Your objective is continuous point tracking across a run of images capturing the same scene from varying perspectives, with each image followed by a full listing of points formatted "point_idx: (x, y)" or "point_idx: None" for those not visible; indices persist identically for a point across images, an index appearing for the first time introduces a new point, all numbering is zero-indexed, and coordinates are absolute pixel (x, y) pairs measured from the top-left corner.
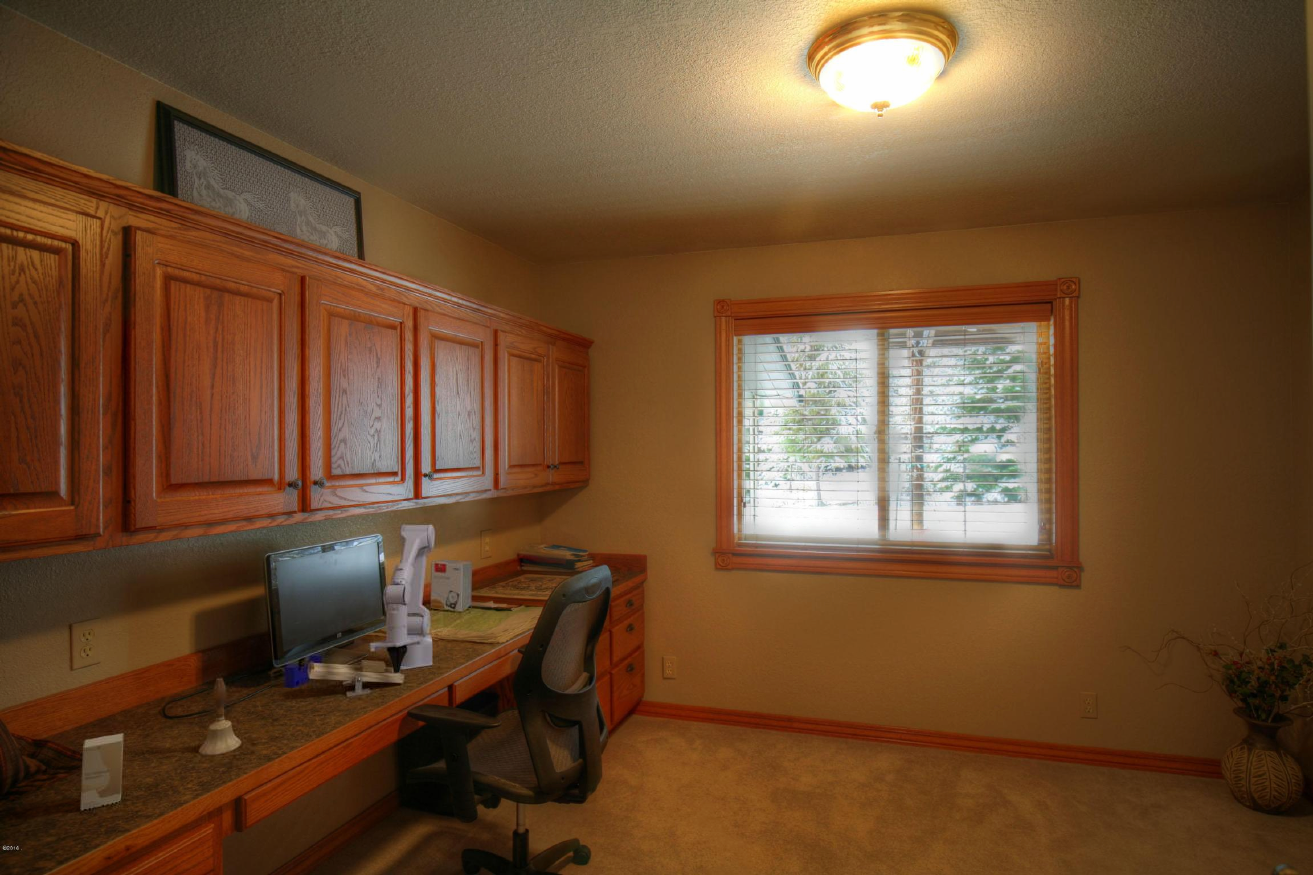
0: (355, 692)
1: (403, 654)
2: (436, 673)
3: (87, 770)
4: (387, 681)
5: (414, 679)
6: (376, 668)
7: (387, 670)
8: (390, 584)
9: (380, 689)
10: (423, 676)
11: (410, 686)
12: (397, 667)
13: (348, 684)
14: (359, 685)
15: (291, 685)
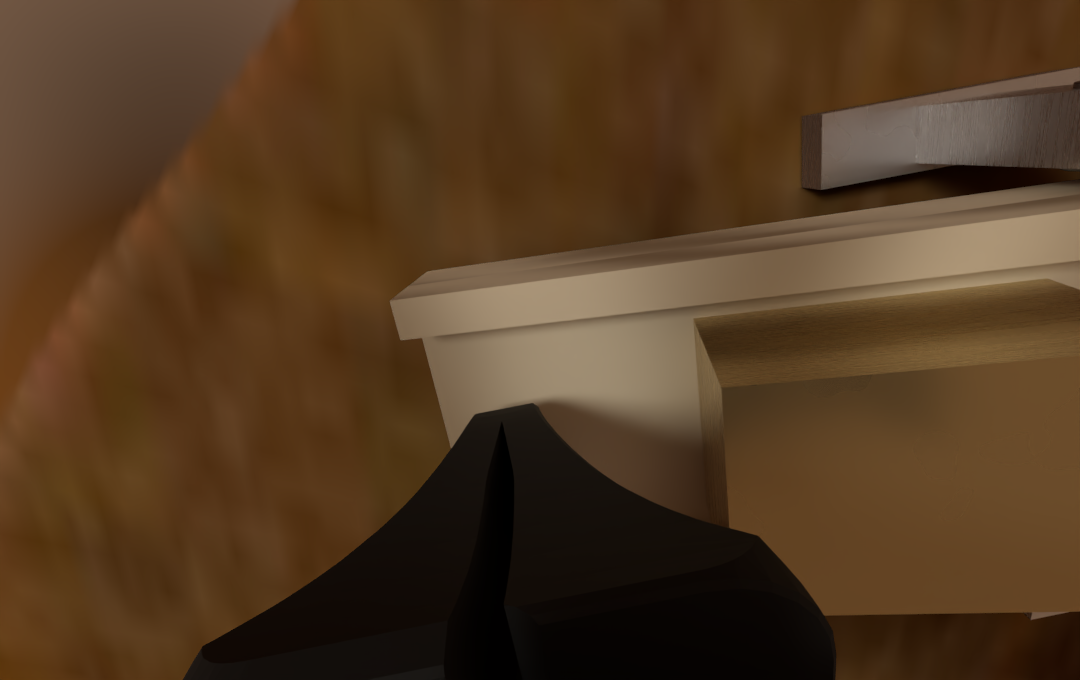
0: (992, 87)
1: (335, 586)
2: (89, 544)
3: None
4: (623, 244)
5: (315, 425)
6: (870, 348)
7: None
8: None
9: (682, 208)
10: (225, 490)
11: (334, 197)
12: (500, 440)
13: None
14: (1020, 92)
15: None
